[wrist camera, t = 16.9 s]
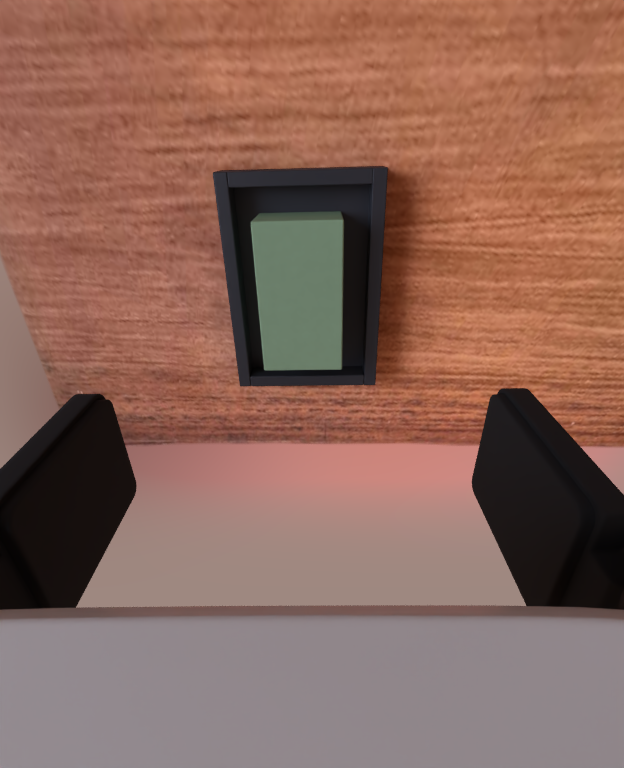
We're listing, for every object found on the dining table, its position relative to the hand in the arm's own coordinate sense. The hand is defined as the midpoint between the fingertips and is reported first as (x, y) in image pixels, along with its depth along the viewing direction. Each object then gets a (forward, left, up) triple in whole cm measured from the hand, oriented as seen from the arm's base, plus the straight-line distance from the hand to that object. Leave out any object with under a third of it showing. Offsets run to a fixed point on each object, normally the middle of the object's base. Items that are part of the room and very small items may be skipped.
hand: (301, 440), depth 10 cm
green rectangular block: (-1, -1, -19) cm, 19 cm away
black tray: (-1, -1, -19) cm, 19 cm away
